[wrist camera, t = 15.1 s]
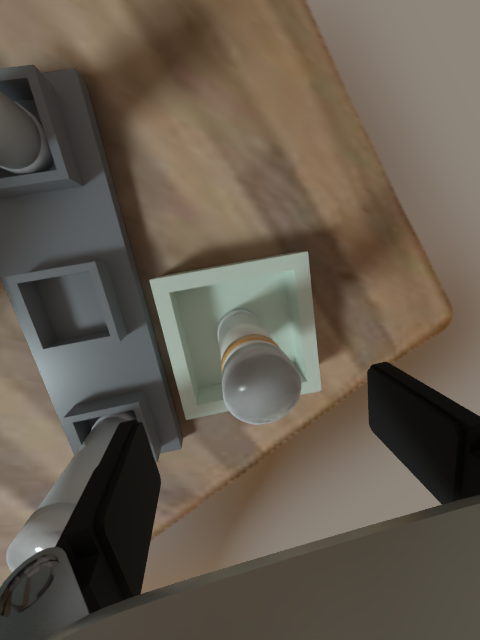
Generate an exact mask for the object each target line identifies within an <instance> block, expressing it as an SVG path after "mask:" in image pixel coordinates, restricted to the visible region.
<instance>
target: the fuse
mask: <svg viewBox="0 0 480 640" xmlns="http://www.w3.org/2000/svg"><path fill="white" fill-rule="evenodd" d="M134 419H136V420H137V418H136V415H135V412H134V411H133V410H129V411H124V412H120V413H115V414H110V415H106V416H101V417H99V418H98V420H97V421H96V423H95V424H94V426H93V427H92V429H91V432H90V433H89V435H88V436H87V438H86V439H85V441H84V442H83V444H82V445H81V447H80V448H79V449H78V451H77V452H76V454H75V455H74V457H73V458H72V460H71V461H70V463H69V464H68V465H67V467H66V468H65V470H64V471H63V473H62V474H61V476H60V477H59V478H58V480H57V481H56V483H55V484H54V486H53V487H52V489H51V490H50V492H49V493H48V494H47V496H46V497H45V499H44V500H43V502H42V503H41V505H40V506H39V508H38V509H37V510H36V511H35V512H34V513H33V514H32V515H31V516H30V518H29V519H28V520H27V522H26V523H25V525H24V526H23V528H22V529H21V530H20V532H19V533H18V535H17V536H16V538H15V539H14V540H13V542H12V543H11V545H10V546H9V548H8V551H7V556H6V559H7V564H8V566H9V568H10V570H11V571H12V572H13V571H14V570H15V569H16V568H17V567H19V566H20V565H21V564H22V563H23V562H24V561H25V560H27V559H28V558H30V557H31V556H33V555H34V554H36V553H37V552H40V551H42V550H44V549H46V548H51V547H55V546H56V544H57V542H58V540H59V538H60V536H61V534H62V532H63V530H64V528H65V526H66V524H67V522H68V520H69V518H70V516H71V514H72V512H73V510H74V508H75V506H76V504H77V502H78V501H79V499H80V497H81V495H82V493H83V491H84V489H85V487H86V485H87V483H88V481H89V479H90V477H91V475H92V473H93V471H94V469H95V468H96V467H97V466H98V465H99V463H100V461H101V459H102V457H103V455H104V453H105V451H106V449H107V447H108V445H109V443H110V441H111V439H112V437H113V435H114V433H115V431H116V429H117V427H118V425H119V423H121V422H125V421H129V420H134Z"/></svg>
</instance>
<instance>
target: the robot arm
mask: <svg viewBox="0 0 480 640" xmlns="http://www.w3.org/2000/svg"><path fill="white" fill-rule="evenodd" d="M367 376H368V409H369V425H370V428H371V429H372V431H373V433H375V435H376V436H377V437H378V438H379V439H380V440H381V441H382V442H383V443H384V444H385V445H386V446H387V447H388V448H389V449H390V450H391V451H392V452H393V453H394V455H395V456H396V457H397V458H398V459H399V460H400V461H401V462H402V463H403V464H404V465H405V466H406V467H407V468H408V469H409V470H410V471H411V472H412V473H413V475H414V476H415V477H416V478H417V479H418V480H419V481H420V482H421V483H422V484H423V485H424V486H425V487H426V488H427V489H428V490H429V491H430V492H431V493H432V494H433V496H434V497H435V498H436V499H437V500H438V501H439V502H440V503H441V504H442V505H440V506H436V507H433V508H429V509H425V510H422V511H418V512H415V513H411V514H408V515H404V516H401V517H397V518H394V519H391V520H387V521H383V522H380V523H376V524H373V525H369V526H366V527H363V528H359V529H356V530H352V531H349V532H345V533H342V534H338V535H335V536H332V537H328V538H325V539H321V540H318V541H314V542H311V543H308V544H305V545H301V546H297V547H294V548H291V549H287V550H284V551H280V552H277V553H274V554H270V555H267V556H264V557H260V558H257V559H254V560H250V561H247V562H244V563H240V564H237V565H233V566H230V567H227V568H223V569H220V570H217V571H214V572H210V573H207V574H203V575H200V576H197V577H193V578H191V579H187V580H184V581H181V582H178V583H175V584H171V585H168V586H165V587H162V588H159V589H156V590H153V591H150V592H146V593H144V594H141V589H142V584H143V578H144V573H145V567H146V562H147V557H148V551H149V546H150V540H151V535H152V530H153V524H154V519H155V513H156V508H157V502H158V497H159V492H160V486H161V479H160V474H159V471H158V468H157V465H156V462H155V459H154V456H153V453H152V450H151V447H150V443H149V440H148V437H147V434H146V431H145V428H144V425H143V423H142V422H138V421H137V420H136V419H134V420H129V421H125V422H121V423H119V425H118V427H117V429H116V431H115V433H114V435H113V437H112V439H111V441H110V443H109V445H108V447H107V449H106V451H105V453H104V455H103V457H102V459H101V461H100V463H99V465H98V466H97V467H96V468H95V469H94V471H93V473H92V475H91V477H90V479H89V481H88V483H87V485H86V487H85V489H84V491H83V493H82V495H81V497H80V499H79V501H78V502H77V504H76V506H75V508H74V510H73V512H72V514H71V516H70V518H69V520H68V522H67V524H66V526H65V528H64V530H63V532H62V534H61V536H60V538H59V540H58V542H57V544H56V546H55V547H51V548H46V549H44V550H42V551H40V552H37V553H36V554H34V555H33V556H31V557H30V558H28V559H27V560H25V561H24V562H23V563H22V564H21V565H20V566H19V567H17V568H16V569H15V570H14V571H13V572H12V573H11V575H10V576H9V577H8V578H7V579H6V580H5V581H4V583H3V584H2V586H1V587H0V640H480V416H478V415H476V414H475V413H473V412H471V411H470V410H468V409H466V408H464V407H463V406H461V405H459V404H458V403H456V402H454V401H453V400H451V399H449V398H447V397H446V396H444V395H442V394H441V393H439V392H437V391H436V390H434V389H432V388H430V387H429V386H427V385H425V384H424V383H422V382H420V381H419V380H417V379H415V378H413V377H412V376H410V375H408V374H407V373H405V372H403V371H402V370H400V369H398V368H396V367H395V366H393V365H391V364H390V363H388V362H382V363H378V364H373V365H371V367H370V369H369V370H368V372H367Z"/></svg>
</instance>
